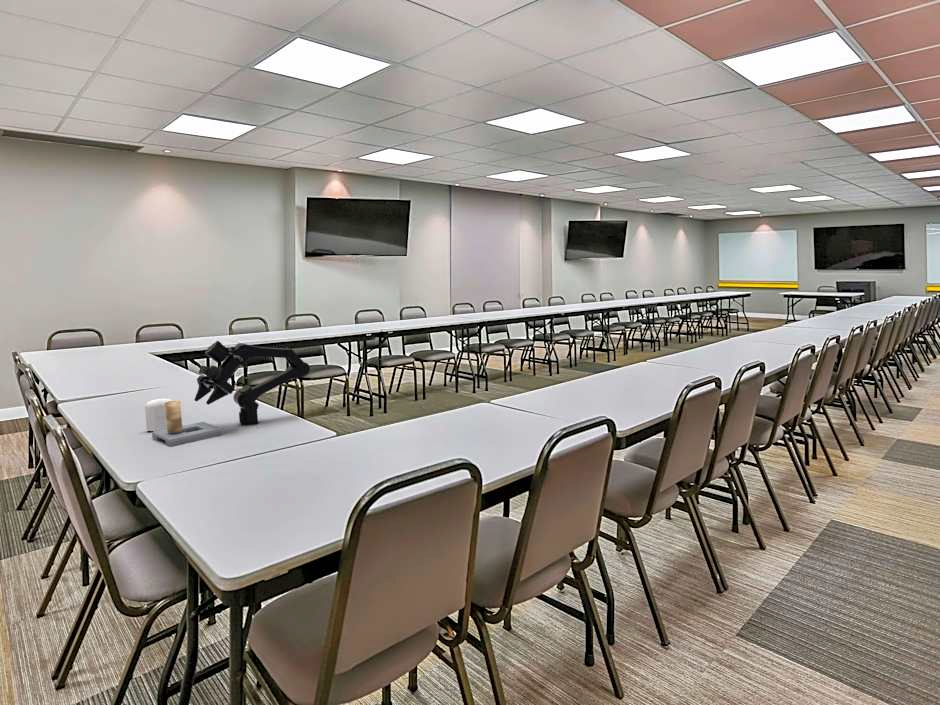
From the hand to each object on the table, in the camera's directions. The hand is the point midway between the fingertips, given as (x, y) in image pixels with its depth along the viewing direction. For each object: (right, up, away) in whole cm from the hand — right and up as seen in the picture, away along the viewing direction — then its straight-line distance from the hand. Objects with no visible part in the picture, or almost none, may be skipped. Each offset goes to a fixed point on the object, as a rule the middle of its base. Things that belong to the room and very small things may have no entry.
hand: (201, 402), depth 221 cm
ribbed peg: (-6, -13, -7) cm, 16 cm away
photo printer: (-18, -12, +7) cm, 23 cm away
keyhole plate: (-3, -13, -4) cm, 13 cm away
